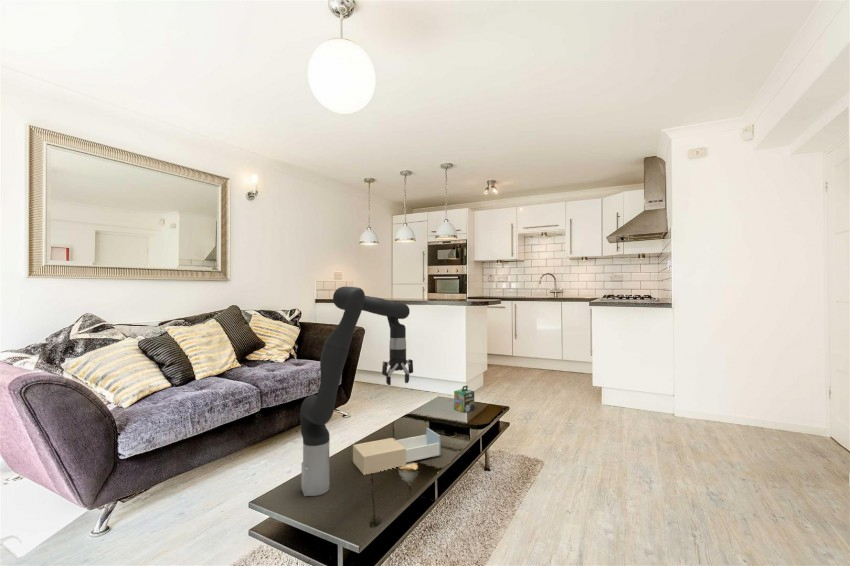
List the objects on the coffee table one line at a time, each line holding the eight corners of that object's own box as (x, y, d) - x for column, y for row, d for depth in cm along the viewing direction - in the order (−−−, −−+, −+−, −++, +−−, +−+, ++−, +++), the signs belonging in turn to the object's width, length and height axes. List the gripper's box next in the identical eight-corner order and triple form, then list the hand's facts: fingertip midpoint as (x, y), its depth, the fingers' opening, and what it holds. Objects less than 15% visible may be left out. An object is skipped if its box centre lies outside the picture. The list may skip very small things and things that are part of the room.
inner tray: (386, 466, 158) (386, 446, 158) (376, 455, 169) (376, 436, 169) (440, 454, 170) (440, 435, 170) (427, 445, 180) (427, 427, 181)
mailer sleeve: (363, 475, 153) (363, 457, 153) (352, 461, 165) (353, 444, 165) (405, 465, 161) (405, 448, 161) (392, 453, 173) (392, 437, 174)
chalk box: (464, 406, 246) (464, 383, 247) (475, 410, 239) (474, 385, 240) (453, 409, 241) (453, 385, 241) (464, 413, 234) (464, 387, 234)
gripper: (386, 349, 171) (386, 387, 170) (415, 347, 177) (415, 383, 177) (380, 347, 177) (379, 383, 177) (408, 345, 184) (408, 380, 183)
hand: (397, 383), depth 177 cm, fingers open, 8 cm apart
